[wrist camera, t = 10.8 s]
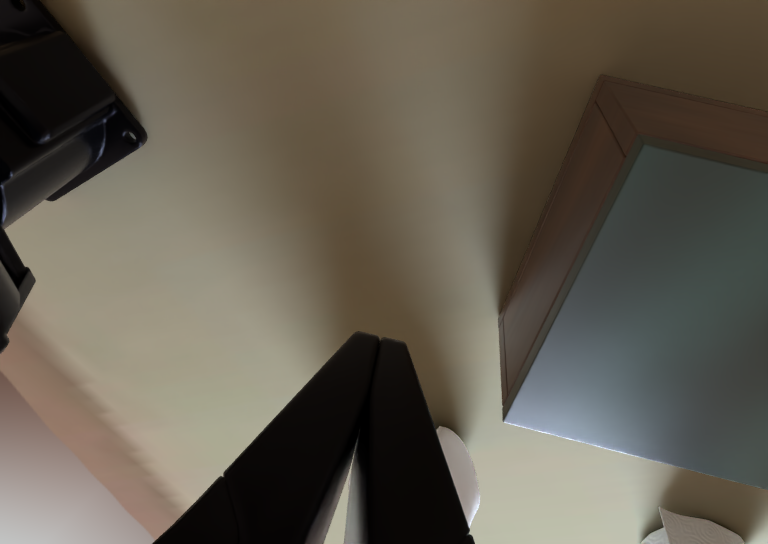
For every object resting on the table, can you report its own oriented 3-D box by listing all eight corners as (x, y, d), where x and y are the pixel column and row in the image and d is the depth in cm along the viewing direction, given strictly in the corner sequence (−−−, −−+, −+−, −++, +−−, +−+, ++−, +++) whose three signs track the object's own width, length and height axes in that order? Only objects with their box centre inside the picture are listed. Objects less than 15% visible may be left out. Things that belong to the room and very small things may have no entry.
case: (976, 158, 18) (1128, 242, 14) (768, 380, 25) (827, 481, 20) (600, 74, 18) (636, 132, 14) (497, 318, 25) (501, 406, 21)
